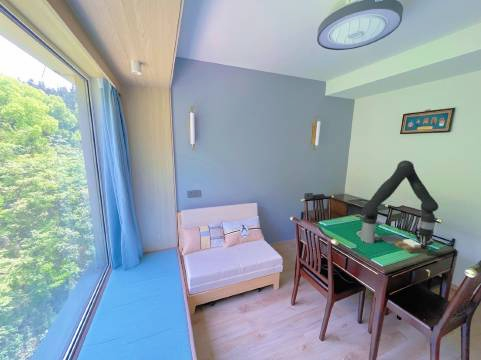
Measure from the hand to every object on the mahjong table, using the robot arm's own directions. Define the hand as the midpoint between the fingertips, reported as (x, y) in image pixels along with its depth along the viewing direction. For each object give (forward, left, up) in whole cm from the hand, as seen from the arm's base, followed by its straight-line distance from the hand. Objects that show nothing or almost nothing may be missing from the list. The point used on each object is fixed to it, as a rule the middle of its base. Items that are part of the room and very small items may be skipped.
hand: (423, 249), depth 141 cm
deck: (-10, 0, -5) cm, 11 cm away
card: (-9, 0, -1) cm, 9 cm away
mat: (-25, 0, -5) cm, 26 cm away
